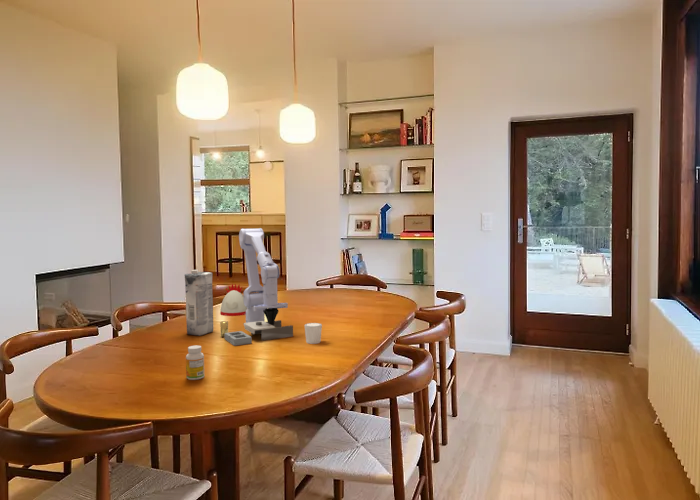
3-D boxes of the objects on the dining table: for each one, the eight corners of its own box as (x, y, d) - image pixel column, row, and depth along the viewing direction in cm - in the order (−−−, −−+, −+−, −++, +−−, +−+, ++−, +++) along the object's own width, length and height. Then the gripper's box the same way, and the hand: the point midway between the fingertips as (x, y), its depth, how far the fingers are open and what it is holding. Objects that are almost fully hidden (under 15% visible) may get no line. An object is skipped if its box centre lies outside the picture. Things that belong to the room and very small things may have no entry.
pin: (219, 335, 216) (219, 321, 215) (226, 335, 217) (226, 320, 217) (222, 337, 213) (221, 323, 213) (229, 336, 215) (228, 322, 214)
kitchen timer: (245, 316, 255) (244, 286, 254) (217, 316, 256) (216, 286, 254) (251, 310, 269) (250, 281, 268) (224, 310, 270) (223, 282, 268)
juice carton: (216, 331, 224) (215, 269, 222) (200, 336, 214) (198, 271, 212) (200, 329, 228) (198, 268, 225) (183, 334, 218) (181, 270, 216)
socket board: (224, 339, 210) (224, 333, 210) (241, 336, 214) (241, 330, 213) (234, 345, 200) (234, 339, 200) (251, 343, 203) (251, 337, 203)
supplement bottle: (188, 374, 165) (187, 344, 164) (205, 374, 166) (205, 344, 165) (184, 380, 160) (183, 349, 159) (202, 379, 160) (201, 349, 159)
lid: (243, 328, 216) (243, 320, 216) (263, 325, 221) (262, 318, 221) (254, 334, 205) (254, 326, 205) (274, 331, 210) (274, 324, 210)
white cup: (324, 340, 207) (324, 323, 207) (318, 344, 201) (317, 327, 200) (308, 339, 209) (308, 322, 209) (301, 343, 203) (301, 325, 202)
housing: (250, 334, 218) (250, 323, 218) (280, 330, 225) (280, 320, 225) (262, 340, 207) (261, 329, 207) (293, 336, 214) (292, 325, 214)
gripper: (257, 297, 208) (258, 330, 209) (290, 293, 215) (291, 326, 216) (251, 294, 214) (251, 327, 215) (283, 291, 221) (284, 323, 222)
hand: (271, 326), depth 216 cm, fingers closed
